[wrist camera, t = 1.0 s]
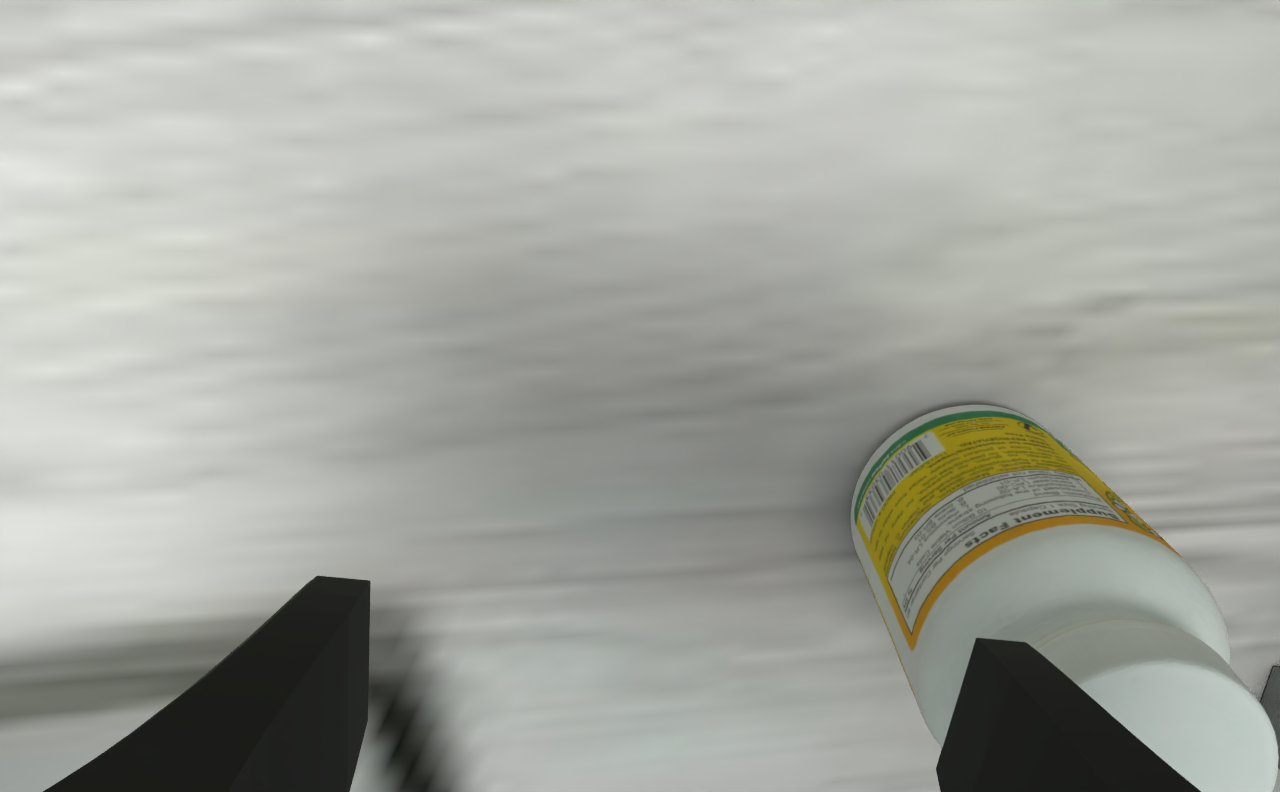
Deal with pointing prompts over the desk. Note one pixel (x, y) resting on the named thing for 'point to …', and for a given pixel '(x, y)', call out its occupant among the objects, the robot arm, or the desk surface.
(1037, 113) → the desk surface
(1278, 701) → the dock
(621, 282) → the desk surface
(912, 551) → the supplement bottle
